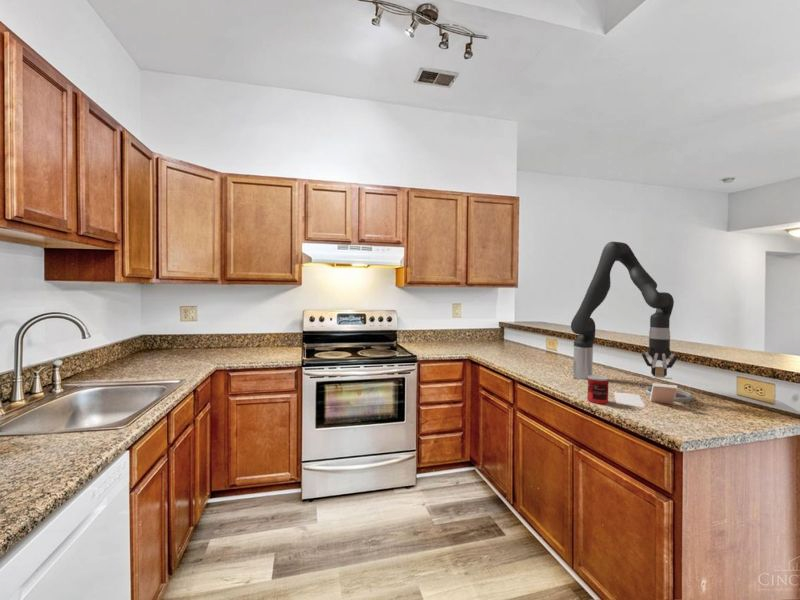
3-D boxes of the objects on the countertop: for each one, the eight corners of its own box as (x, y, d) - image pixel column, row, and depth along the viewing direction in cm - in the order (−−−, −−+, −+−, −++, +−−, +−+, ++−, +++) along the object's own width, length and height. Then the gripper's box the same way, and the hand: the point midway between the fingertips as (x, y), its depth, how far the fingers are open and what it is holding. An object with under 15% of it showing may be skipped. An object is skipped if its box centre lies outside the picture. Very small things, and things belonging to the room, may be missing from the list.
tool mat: (616, 404, 152) (616, 403, 152) (613, 393, 169) (613, 392, 169) (645, 408, 148) (645, 407, 148) (639, 395, 164) (639, 394, 164)
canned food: (596, 398, 160) (596, 374, 160) (612, 404, 153) (613, 378, 153) (583, 400, 158) (583, 375, 157) (599, 406, 150) (599, 380, 150)
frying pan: (655, 381, 183) (703, 396, 155) (655, 387, 183) (703, 403, 155) (622, 381, 182) (664, 397, 154) (622, 387, 182) (664, 404, 154)
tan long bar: (648, 377, 167) (648, 366, 168) (664, 378, 164) (664, 367, 165) (654, 377, 154) (654, 365, 155) (672, 379, 151) (671, 367, 152)
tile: (650, 402, 155) (653, 386, 149) (649, 399, 156) (652, 383, 150) (673, 405, 152) (677, 388, 145) (672, 402, 153) (676, 385, 147)
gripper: (677, 337, 161) (676, 376, 162) (639, 335, 167) (638, 373, 168) (681, 339, 154) (680, 379, 155) (641, 337, 161) (641, 376, 161)
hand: (658, 376), depth 161 cm, fingers closed on tan long bar, 2 cm apart
